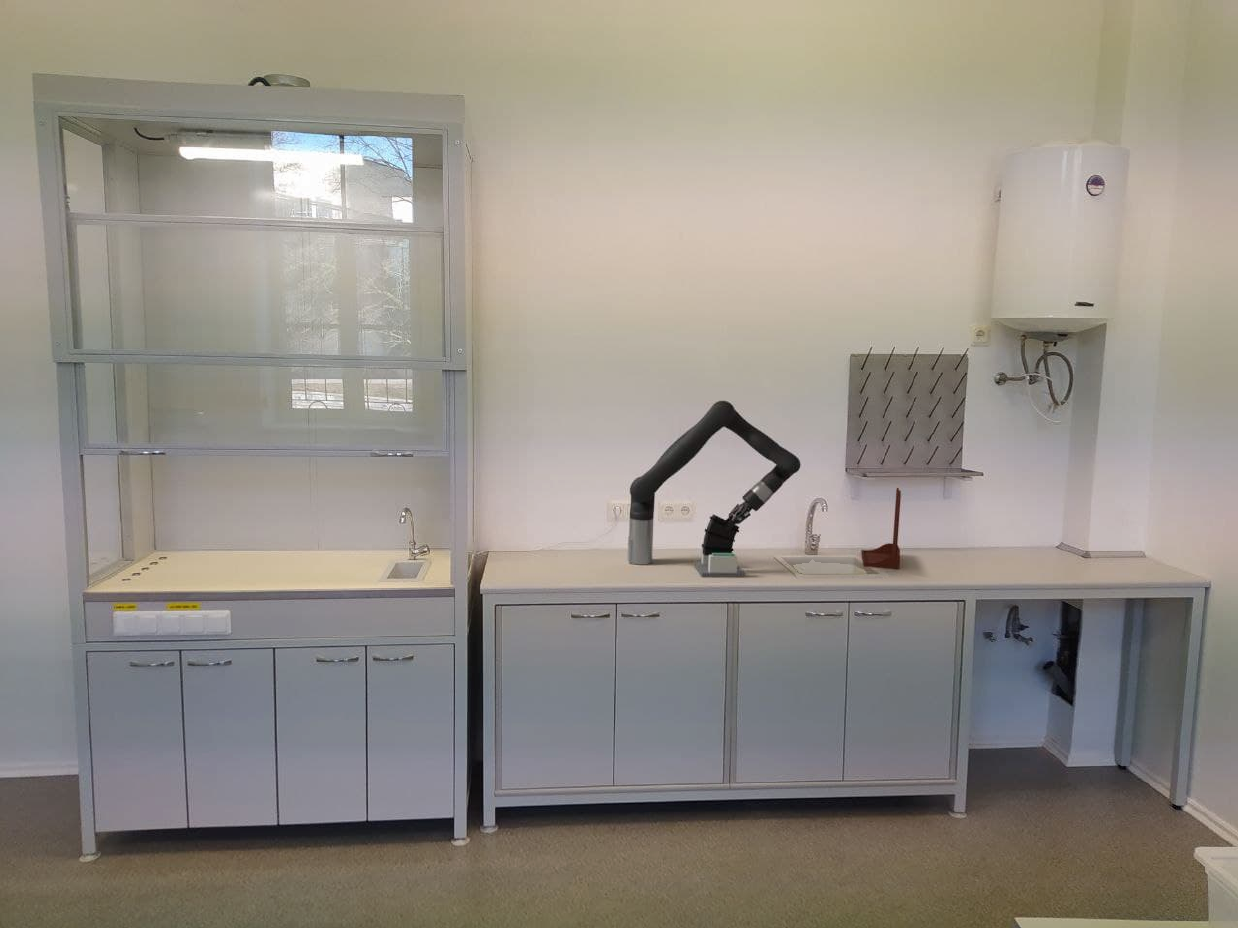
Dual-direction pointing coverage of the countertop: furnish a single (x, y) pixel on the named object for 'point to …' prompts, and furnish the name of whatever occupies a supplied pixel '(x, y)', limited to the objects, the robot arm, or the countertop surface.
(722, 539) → the magazine
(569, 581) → the countertop surface
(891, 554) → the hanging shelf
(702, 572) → the mounting plate
